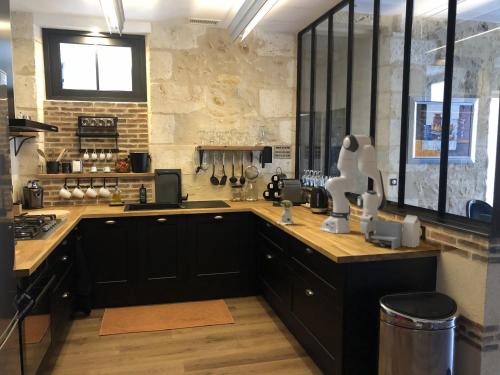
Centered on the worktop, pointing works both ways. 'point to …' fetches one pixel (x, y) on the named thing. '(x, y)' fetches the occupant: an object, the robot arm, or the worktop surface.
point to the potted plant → (286, 213)
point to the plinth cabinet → (389, 232)
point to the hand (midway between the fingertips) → (369, 237)
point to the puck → (383, 244)
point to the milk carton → (411, 231)
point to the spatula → (376, 240)
